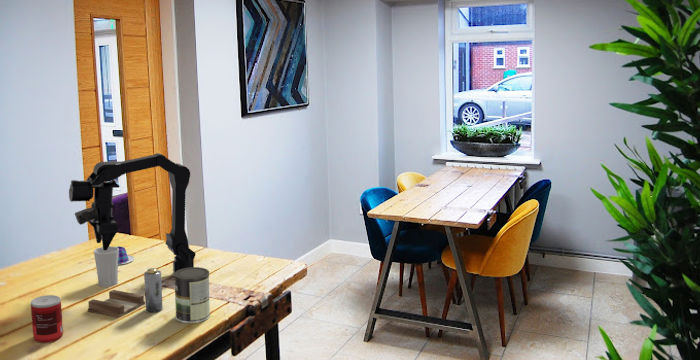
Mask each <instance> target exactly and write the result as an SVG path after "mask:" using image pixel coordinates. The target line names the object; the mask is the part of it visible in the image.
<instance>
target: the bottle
mask: <svg viewBox="0 0 700 360" xmlns="http://www.w3.org/2000/svg"><path fill="white" fill-rule="evenodd" d="M143 276H144V301H145V311H146V312H147V313H149V314H150V313H151V314H152V313H153V314H154V313H159V312H161V311H163V309H164V308H163V307H164V306H163V285H162V271H160V270H159V269H158V268H156V267H151V268H147V270H146V271H145V272H143Z"/></svg>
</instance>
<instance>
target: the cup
mask: <svg viewBox="0 0 700 360" xmlns="http://www.w3.org/2000/svg"><path fill="white" fill-rule="evenodd" d="M117 247H118V246H110V245H109V247H108V249H107V250H103V246H101V247H97V248H95V249H94V250H93V257H94V260H95V267H96V276H97V283H98V286H99V287H102V288H103V287H104V288H106V287H108V288H109V287H113V286H116V285H118V284H119V279H118V277H119V276H118V274H119V265H118V254H119V249H118V248H117Z"/></svg>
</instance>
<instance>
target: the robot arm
mask: <svg viewBox="0 0 700 360" xmlns="http://www.w3.org/2000/svg"><path fill="white" fill-rule="evenodd" d="M156 167H157V168H158V167H160V169H162V170H164V171H166V172H167V173H168V178H169V179H168V180H169V183H170V186H171V189H172V193H171V194H172V195H171V196H172V197H171V198H172V199H171V201H172V202H171V203H172V204H171V230H170V233H168V232H166V233H165V238H166V240H165V243H164V244H165V245H166V247H167V248H168V250H169V251H171V252H172V253H173V255H175V256H174V260H173V261H172V272H173V274H174V273H175V272H176V271H178V270H180V269H183V268H190V267H195V261H194V260H195V258H196V252H195V251H194V250H192V249H191V248H190V245H189V239H188V236H187V233H186V190H187V188H188V185H189V184H190V178H191V171H190V169H189V168H188V167H187V166H185V165H182V164H181V163H176V162H173V160H171V159H169V158H168V157H167V156H165V155H164V154H162V153H159V152H157V153H155V154H152V155H147V156H141V157H136V158H133V159H132V158H131V159H126V160H123V161H99V162H97V163H96V164H95V165H94V166H93V171H92V172H91V173H90V175H89V176H88V177H87V178H86V180H75V179H74V180H73V179H72V180H70V184H69V189H68V199H69V201H70V203H71V202H72V203H73V202H90V201H91V200H92V199H93V202H92V203H91V207H89V208H88V207H87V208H85V209H82V210H79V211H77V212H75V213H74V216H75V219H76V221H77V223H78V224H79V225H84V224H85V223H89V225H90V226H92V228H93V232H94V237H95V241H96V243H97V244H100V243H101V242H102V243H101V244H102V247H103V250H107V249H108V247H109V246H110V245H111V243H112V241H113V240H114V238H115V236H116V234H117V233H119V231H120V224H118V223H117V222H116V220H114V216H113V209H114V208H115V205H114V203H113V196H114V195H113V194H114V193H113V192H114V188H120V185H119V184H118V183H117V181H116V179H118V178H120V177H121V176H124V175H125V174H130V173H134V172H139V171H143V170H148V169H152V168H156Z"/></svg>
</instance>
